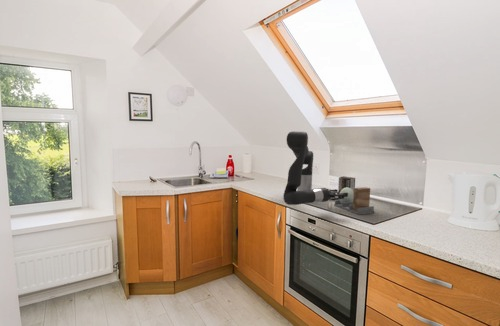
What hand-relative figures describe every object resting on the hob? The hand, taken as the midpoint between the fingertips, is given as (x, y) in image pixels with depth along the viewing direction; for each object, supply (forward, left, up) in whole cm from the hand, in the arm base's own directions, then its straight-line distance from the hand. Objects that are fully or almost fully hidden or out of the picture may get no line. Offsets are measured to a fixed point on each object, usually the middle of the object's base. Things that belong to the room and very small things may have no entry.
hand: (342, 192), depth 160 cm
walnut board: (0, +14, -11) cm, 18 cm away
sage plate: (-12, +14, -12) cm, 22 cm away
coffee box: (-24, +24, -13) cm, 36 cm away
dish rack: (-6, +14, -12) cm, 20 cm away
